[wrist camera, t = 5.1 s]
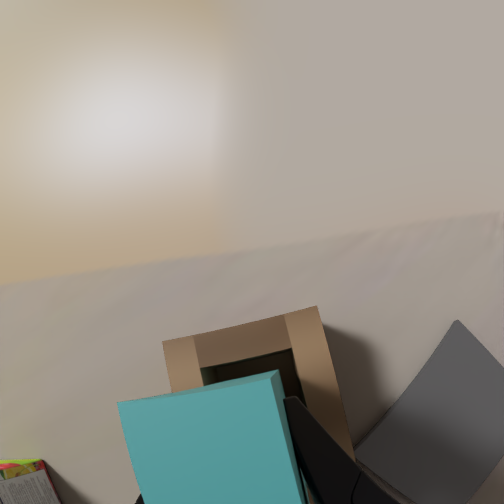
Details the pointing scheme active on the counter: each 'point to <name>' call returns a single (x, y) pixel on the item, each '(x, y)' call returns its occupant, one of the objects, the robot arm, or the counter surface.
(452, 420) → the rubber mat
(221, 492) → the teal block
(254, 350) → the slot box
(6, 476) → the snack box
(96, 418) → the counter surface
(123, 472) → the counter surface
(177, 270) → the counter surface
